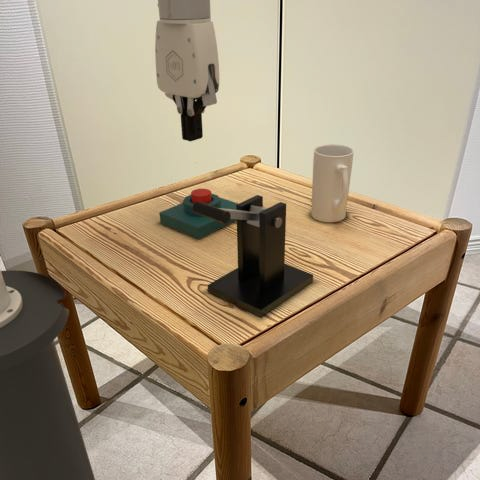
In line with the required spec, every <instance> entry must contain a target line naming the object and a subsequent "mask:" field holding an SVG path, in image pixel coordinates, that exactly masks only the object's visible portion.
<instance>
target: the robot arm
mask: <svg viewBox="0 0 480 480" xmlns="http://www.w3.org/2000/svg"><path fill="white" fill-rule="evenodd" d="M157 9H158V16H159V20H157V21H156V25H155V26H156V27H155V40H154V41H155V42H154V43H155V44H154V53H155V58H154V59H155V75H156V85H157V88H158V89H159V90H160V91H161V92H162V93H164V95H165V96H166V98H168V99H169V100H171V101H173V103H174V104H175V106H176V111H177V113H178V115H180V126H181V139H182V140H183V141H187V142H194V141H197V140H201V139H202V138H203V135H204V134H203V115H202V114H204V113H205V111H206V108H207V107H210V106H213V105H217V103H218V99H217V95H216V94H217V93H218V92H219V90H220V63H219V51H218V44H217V38H216V37H217V36H216V31H215V27H214V22H213V21H212V18H211V17H212V15H211V13H212V11H211V0H157ZM1 271H2V270H1V269H0V328H2V327H3V326H5V325H7V324H8V323H10V322H11V321H12V320H13V319H15V318H16V317H17V315H18V314H19V313H20V311H21V310H22V307H23V300H22V297H21V295H20V293H19V292H18V291H17V290H15V289H13V288H11V287H8V286H6V285H5V282H4V279H3V276H2V273H1Z"/></svg>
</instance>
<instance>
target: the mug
mask: <svg viewBox="0 0 480 480" xmlns="http://www.w3.org/2000/svg"><path fill="white" fill-rule="evenodd" d="M354 152H355V150H354V148H352V147H351V146H348V145H344V144H333V143H329V144H327V143H326V144H321V145H318V146H316V147H315V148H314V149H313V158H312V159H313V160H312V163H313V164H312V181H311V183H312V185H311V211H310V214H311V217H312V218H313V219H314V220H316V221H318V222H322V223H337V222H341V221H343V220H344V219H345V218H346V215H347V207H348V201H349V193H350V184H351V176H352V169H353V161H354Z"/></svg>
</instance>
